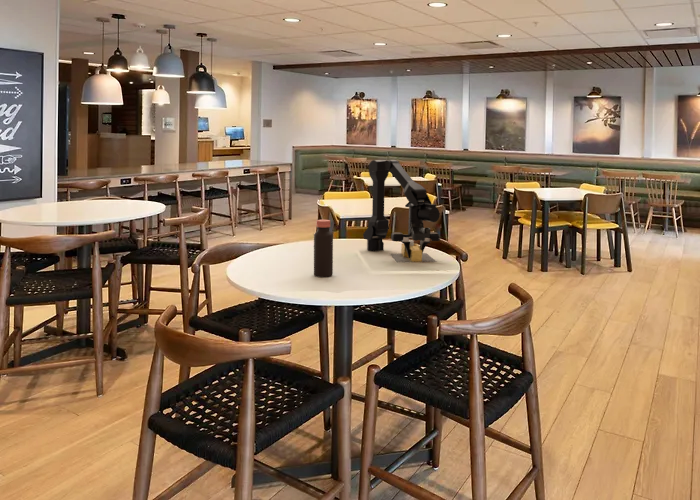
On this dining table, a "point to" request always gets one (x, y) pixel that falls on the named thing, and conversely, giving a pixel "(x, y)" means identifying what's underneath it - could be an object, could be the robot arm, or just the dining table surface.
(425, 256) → the stand
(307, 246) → the dining table surface
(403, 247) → the tan long block
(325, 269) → the bottle
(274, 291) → the dining table surface
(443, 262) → the dining table surface
